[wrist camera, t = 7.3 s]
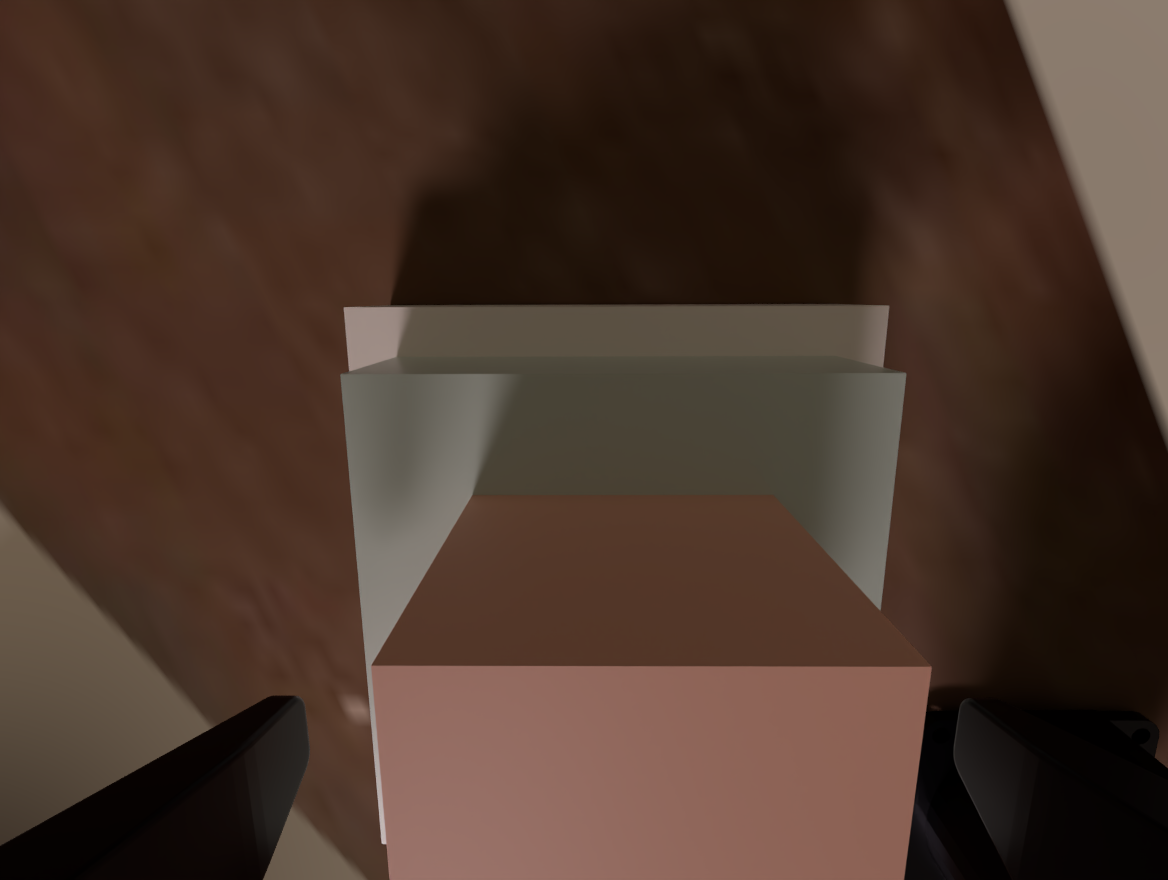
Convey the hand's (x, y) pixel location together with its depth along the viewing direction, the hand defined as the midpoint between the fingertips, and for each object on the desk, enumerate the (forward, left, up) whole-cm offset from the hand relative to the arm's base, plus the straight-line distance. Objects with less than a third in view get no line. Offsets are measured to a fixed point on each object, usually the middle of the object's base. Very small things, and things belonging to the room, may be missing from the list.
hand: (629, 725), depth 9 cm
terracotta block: (0, 0, -2) cm, 2 cm away
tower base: (0, 0, -8) cm, 8 cm away
